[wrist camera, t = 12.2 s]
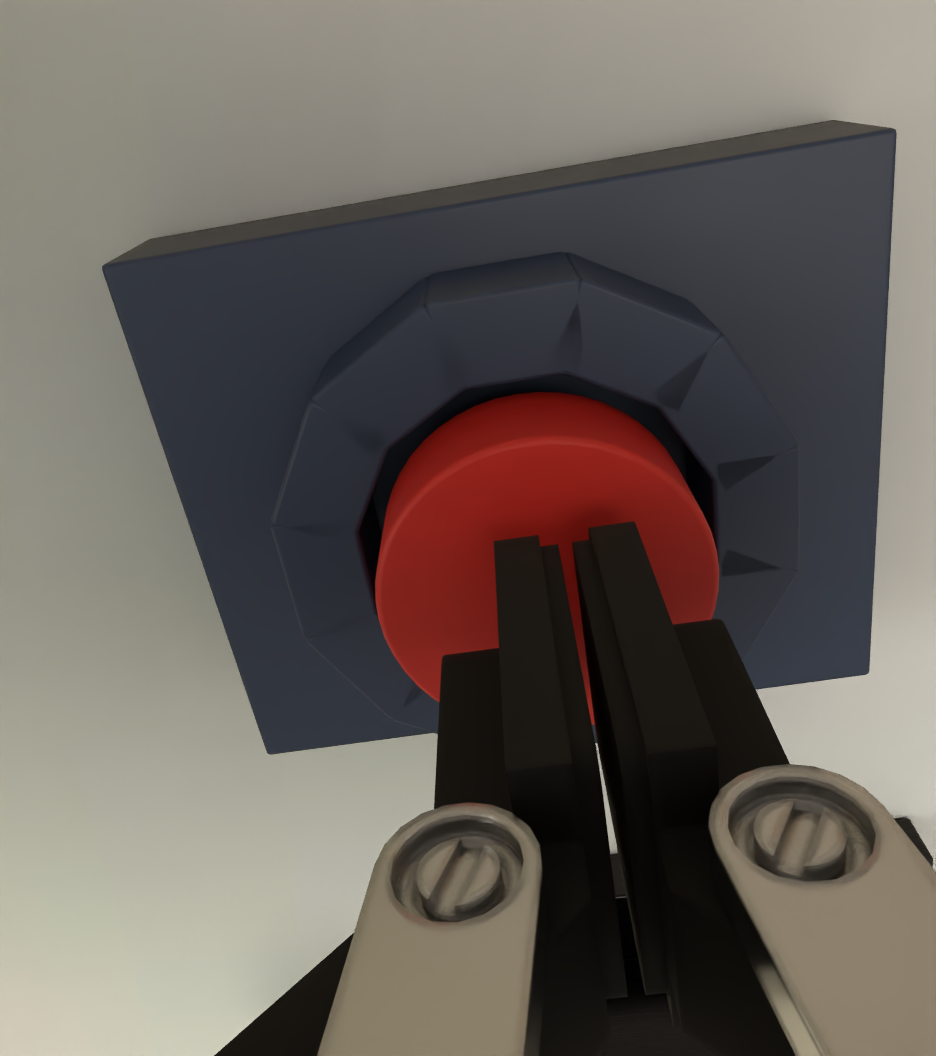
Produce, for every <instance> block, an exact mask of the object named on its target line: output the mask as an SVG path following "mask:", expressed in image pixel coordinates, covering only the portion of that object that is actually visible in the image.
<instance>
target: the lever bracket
mask: <svg viewBox="0 0 936 1056" xmlns="http://www.w3.org/2000/svg"><path fill="white" fill-rule="evenodd" d="M895 821H896V822H897V823H898V825H899V826H900V827H901V829H902V830H903V831H904V832H905V834H906V835H907V836H908V837H909V839H910V840H911V841H912V842H913V844H914V845H915V846H916V847H917V849H918V850H919V851H920V852H921V854H922V855H923V856H924V857H925V859H926V860H927V861H928V862H929V864H930V865H931V866H933V858H932V856H931V854H930V853H929V851H928V849H927V848H926V846H925V844H924V843H923V841H922V839H921V838H920V836H919V834H918V833H917V831H916V829H915V828H914V826H913V824H912V823H911V821H910V820H909V819H902V820H895ZM610 857H611V865H612V873H613V881H614V889H615V897H616V905H617V913H618V921H619V929H620V937H621V945H622V953H623V961H624V969H625V977H626V985H627V993H628V997H621V998H611V999H606V1003H607V1010H608V1017H609V1024H610V1031H611V1040H610V1041H609V1042H608V1043H607V1044H606V1046H605V1047H604V1048H603V1049H602V1051H601V1052H600V1053H599V1054H598V1056H717V1055H715V1054H714V1053H712V1052H711V1051H710V1050H708V1049H707V1048H705V1047H704V1046H702V1045H701V1044H700V1043H698V1042H697V1041H695V1040H694V1039H692V1038H691V1037H690V1036H688V1035H687V1034H685V1033H684V1032H682V1029H674V1027H673V1022H672V1018H671V1013H670V1008H669V1004H668V999H667V994H666V993H660V994H650V995H646V994H645V990H644V985H643V980H642V975H641V970H640V965H639V959H638V954H637V949H636V943H635V938H634V933H633V928H632V922H631V917H630V912H629V907H628V901H627V896H626V891H625V886H624V880H623V875H622V870H621V864H620V859H619V855H611V856H610Z"/></svg>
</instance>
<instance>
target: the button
mask: <svg viewBox="0 0 936 1056" xmlns="http://www.w3.org/2000/svg"><path fill="white" fill-rule="evenodd" d="M631 521H634V522H635V524H636V526H637V529H638V531H639V534H640V537H641V540H642V542H643V545H644V548H645V550H646V553H647V556H648V559H649V561H650V564H651V567H652V569H653V572H654V575H655V578H656V580H657V583H658V586H659V589H660V591H661V594H662V597H663V599H664V602H665V605H666V608H667V610H668V613H669V616H670V618H671V621H672V624H681V623H688V622H696V621H703V620H711V619H712V616H713V613H714V610H715V606H716V601H717V595H718V590H719V564H718V556H717V550H716V546H715V542H714V539H713V535H712V532H711V530H710V527H709V525H708V523H707V521H706V519H705V517H704V514H703V512H702V511H701V509H700V507H699V505H698V503H697V502H696V500H695V498H694V496H693V494H692V492H691V491H690V489H689V487H688V485H687V483H686V482H685V480H684V478H683V476H682V474H681V472H680V471H679V469H678V467H677V465H676V463H675V462H674V460H673V459H672V457H671V456H670V454H669V453H668V451H667V450H666V448H665V447H664V446H663V445H662V444H661V443H660V441H659V440H658V439H657V438H656V437H655V436H654V435H653V434H652V433H651V432H650V431H649V430H648V429H646V428H645V427H644V426H643V425H642V424H640V423H639V422H638V421H637V420H635V419H633V418H632V417H630V416H629V415H627V414H625V413H624V412H622V411H620V410H618V409H616V408H614V407H612V406H609V405H607V404H605V403H603V402H600V401H597V400H593V399H590V398H587V397H583V396H579V395H572V394H566V393H560V392H531V393H520V394H514V395H509V396H505V397H500V398H496V399H493V400H490V401H487V402H484V403H482V404H479V405H476V406H474V407H472V408H470V409H468V410H466V411H464V412H462V413H460V414H458V415H456V416H455V417H453V418H452V419H450V420H449V421H447V422H446V423H444V424H443V425H441V426H440V427H438V428H437V429H436V430H435V431H434V432H433V433H432V434H431V435H430V436H428V437H427V438H426V439H425V440H424V441H423V442H422V443H421V444H420V446H419V447H418V448H417V449H416V450H415V451H414V453H413V454H412V455H411V456H410V458H409V459H408V461H407V462H406V464H405V465H404V467H403V468H402V470H401V472H400V473H399V476H398V478H397V480H396V482H395V484H394V487H393V489H392V491H391V495H390V498H389V502H388V505H387V509H386V515H385V521H384V528H383V534H382V540H381V546H380V552H379V558H378V565H377V572H376V579H375V601H376V607H377V613H378V619H379V622H380V625H381V628H382V631H383V634H384V637H385V639H386V641H387V643H388V645H389V647H390V649H391V651H392V653H393V655H394V656H395V658H396V659H397V661H398V662H399V664H400V665H401V667H402V668H403V669H404V671H405V672H406V673H407V674H408V676H409V677H410V678H411V679H412V680H413V681H414V682H415V683H416V684H417V685H418V686H419V687H420V688H421V689H422V690H423V691H425V692H426V693H427V694H428V695H429V696H431V697H432V698H433V699H435V700H436V701H438V702H439V701H440V681H441V664H442V657H443V656H444V655H449V654H456V653H464V652H471V651H479V650H486V649H494V648H499V638H498V618H497V597H496V577H495V557H494V541H498V540H505V539H512V538H519V537H526V536H533V535H539V542H540V546H547V545H554V544H558V546H559V552H560V557H561V562H562V568H563V573H564V579H565V584H566V589H567V595H568V600H569V605H570V611H571V616H572V621H573V627H574V632H575V638H576V643H577V648H578V654H579V659H580V664H581V670H582V675H583V680H584V686H585V691H586V697H587V702H588V707H589V713H590V718H591V723H592V725H593V724H595V723H594V715H593V707H592V699H591V691H590V683H589V675H588V667H587V659H586V651H585V643H584V635H583V627H582V619H581V611H580V603H579V595H578V587H577V579H576V571H575V563H574V554H573V545H572V542H575V541H582V540H589V535H588V528H589V527H596V526H603V525H610V524H617V523H624V522H631Z"/></svg>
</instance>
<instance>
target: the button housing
mask: <svg viewBox="0 0 936 1056" xmlns="http://www.w3.org/2000/svg"><path fill="white" fill-rule="evenodd" d="M895 153H896V130H895V129H893V128H887V127H880V126H873V125H865V124H858V123H851V122H843V121H836V120H832V121H826V122H820V123H814V124H809V125H803V126H797V127H791V128H786V129H780V130H774V131H768V132H763V133H757V134H751V135H745V136H740V137H734V138H728V139H722V140H717V141H711V142H705V143H699V144H694V145H688V146H682V147H676V148H671V149H665V150H659V151H654V152H648V153H642V154H636V155H631V156H625V157H619V158H613V159H608V160H602V161H596V162H590V163H585V164H579V165H573V166H567V167H562V168H556V169H550V170H544V171H539V172H533V173H527V174H521V175H516V176H510V177H504V178H498V179H493V180H487V181H481V182H475V183H470V184H464V185H458V186H453V187H447V188H441V189H435V190H430V191H424V192H418V193H412V194H407V195H401V196H395V197H389V198H384V199H378V200H372V201H366V202H361V203H355V204H349V205H343V206H338V207H332V208H326V209H320V210H315V211H309V212H303V213H297V214H292V215H286V216H280V217H274V218H269V219H263V220H257V221H252V222H246V223H240V224H234V225H229V226H223V227H217V228H211V229H206V230H200V231H194V232H188V233H183V234H177V235H171V236H165V237H160V238H154V239H150V240H148V241H146V242H144V243H142V244H140V245H139V246H137V247H135V248H133V249H131V250H130V251H128V252H126V253H124V254H122V255H121V256H119V257H117V258H115V259H113V260H112V261H110V262H108V263H106V264H105V265H103V266H102V271H103V274H104V277H105V279H106V282H107V285H108V288H109V291H110V294H111V297H112V300H113V303H114V306H115V309H116V312H117V315H118V318H119V320H120V323H121V326H122V329H123V332H124V335H125V338H126V341H127V344H128V347H129V350H130V353H131V356H132V359H133V361H134V364H135V367H136V370H137V373H138V376H139V379H140V382H141V385H142V388H143V391H144V394H145V397H146V400H147V402H148V405H149V408H150V411H151V414H152V417H153V420H154V423H155V426H156V429H157V432H158V435H159V438H160V441H161V443H162V446H163V449H164V452H165V455H166V458H167V461H168V464H169V467H170V470H171V473H172V476H173V479H174V482H175V484H176V487H177V490H178V493H179V496H180V499H181V502H182V505H183V508H184V511H185V514H186V517H187V520H188V523H189V526H190V528H191V531H192V534H193V537H194V540H195V543H196V546H197V549H198V552H199V555H200V558H201V561H202V564H203V567H204V569H205V572H206V575H207V578H208V581H209V584H210V587H211V590H212V593H213V596H214V599H215V602H216V605H217V608H218V610H219V613H220V616H221V619H222V622H223V625H224V628H225V631H226V634H227V637H228V640H229V643H230V646H231V649H232V651H233V654H234V657H235V660H236V663H237V666H238V669H239V672H240V675H241V678H242V681H243V684H244V687H245V690H246V692H247V695H248V698H249V701H250V704H251V707H252V710H253V713H254V716H255V719H256V722H257V725H258V728H259V731H260V733H261V736H262V739H263V742H264V745H265V748H266V751H267V753H268V754H270V755H271V754H278V753H286V752H293V751H301V750H308V749H316V748H323V747H331V746H338V745H345V744H353V743H360V742H368V741H375V740H383V739H390V738H398V737H405V736H412V735H420V734H427V733H436V734H438V722H439V702H438V701H436V700H435V699H433V698H432V697H431V696H429V695H428V694H427V693H426V692H425V691H423V690H422V689H421V688H420V687H419V686H418V685H417V684H416V683H415V682H414V681H413V680H412V679H411V678H410V677H409V676H408V674H407V673H406V672H405V671H404V669H403V668H402V667H401V665H400V664H399V662H398V661H397V659H396V658H395V656H394V655H393V653H392V651H391V649H390V647H389V645H388V643H387V641H386V639H385V637H384V634H383V631H382V628H381V625H380V622H379V619H378V613H377V607H376V601H375V579H376V572H377V565H378V558H379V552H380V546H381V540H382V534H383V528H384V521H385V515H386V509H387V505H388V502H389V498H390V495H391V491H392V489H393V487H394V484H395V482H396V480H397V478H398V476H399V473H400V472H401V470H402V468H403V467H404V465H405V464H406V462H407V461H408V459H409V458H410V456H411V455H412V454H413V453H414V451H415V450H416V449H417V448H418V447H419V446H420V444H421V443H422V442H423V441H424V440H425V439H426V438H427V437H428V436H430V435H431V434H432V433H433V432H434V431H435V430H436V429H437V428H438V427H440V426H441V425H443V424H444V423H446V422H447V421H449V420H450V419H452V418H453V417H455V416H456V415H458V414H460V413H462V412H464V411H466V410H468V409H470V408H472V407H474V406H476V405H479V404H482V403H484V402H487V401H490V400H493V399H496V398H500V397H505V396H509V395H514V394H520V393H531V392H560V393H566V394H572V395H579V396H583V397H587V398H590V399H593V400H597V401H600V402H603V403H605V404H607V405H609V406H612V407H614V408H616V409H618V410H620V411H622V412H624V413H625V414H627V415H629V416H630V417H632V418H633V419H635V420H637V421H638V422H639V423H640V424H642V425H643V426H644V427H645V428H646V429H648V430H649V431H650V432H651V433H652V434H653V435H654V436H655V437H656V438H657V439H658V440H659V441H660V443H661V444H662V445H663V446H664V447H665V448H666V450H667V451H668V453H669V454H670V456H671V457H672V459H673V460H674V462H675V463H676V465H677V467H678V469H679V471H680V472H681V474H682V476H683V478H684V480H685V482H686V483H687V485H688V487H689V489H690V491H691V492H692V494H693V496H694V498H695V500H696V502H697V503H698V505H699V507H700V509H701V511H702V512H703V514H704V517H705V519H706V521H707V523H708V525H709V527H710V530H711V532H712V535H713V539H714V542H715V546H716V550H717V556H718V564H719V590H718V595H717V601H716V606H715V610H714V613H713V616H712V619H718V618H719V619H721V620H722V621H723V622H724V624H725V626H726V627H727V630H728V632H729V634H730V636H731V638H732V640H733V643H734V645H735V647H736V649H737V651H738V653H739V655H740V658H741V660H742V662H743V664H744V666H745V668H746V671H747V673H748V675H749V677H750V679H751V681H752V684H753V686H754V688H755V689H762V688H770V687H777V686H785V685H792V684H800V683H807V682H814V681H822V680H829V679H837V678H844V677H852V676H859V675H866V674H868V673H869V664H870V644H871V625H872V605H873V585H874V566H875V546H876V526H877V507H878V487H879V468H880V448H881V428H882V409H883V389H884V369H885V350H886V330H887V310H888V291H889V271H890V251H891V232H892V212H893V192H894V173H895ZM592 729H593V734H594V740H595V743H597V736H596V730H595V724H593V725H592Z"/></svg>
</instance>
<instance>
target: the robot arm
mask: <svg viewBox="0 0 936 1056" xmlns="http://www.w3.org/2000/svg"><path fill="white" fill-rule="evenodd" d="M588 535H589V540H582V541H575V542H572V545H573V554H574V563H575V571H576V579H577V587H578V595H579V603H580V611H581V619H582V627H583V635H584V643H585V651H586V659H587V667H588V675H589V683H590V691H591V699H592V707H593V715H594V723H595V730H596V736H597V743H598V748H599V754H600V759H601V764H602V770H603V775H604V780H605V785H606V791H607V796H608V801H609V806H610V812H611V817H612V822H613V828H614V833H615V838H616V843H617V849H618V854H619V859H620V864H621V870H622V875H623V880H624V886H625V891H626V896H627V901H628V907H629V912H630V917H631V922H632V928H633V933H634V938H635V943H636V949H637V954H638V959H639V965H640V970H641V975H642V980H643V985H644V990H645V994H646V995H650V994H660V993H666V994H667V999H668V1004H669V1008H670V1013H671V1018H672V1022H673V1027H674V1029H682V1032H684V1033H685V1034H687V1035H688V1036H690V1037H691V1038H692V1039H694V1040H695V1041H697V1042H698V1043H700V1044H701V1045H702V1046H704V1047H705V1048H707V1049H708V1050H710V1051H711V1052H712V1053H714V1054H715V1055H717V1056H936V871H935V870H934V869H933V867H932V866H931V865H930V864H929V862H928V861H927V860H926V859H925V857H924V856H923V855H922V854H921V852H920V851H919V850H918V849H917V847H916V846H915V845H914V844H913V842H912V841H911V840H910V839H909V837H908V836H907V835H906V834H905V832H904V831H903V830H902V829H901V827H900V826H899V825H898V823H897V822H896V821H895V820H894V818H893V817H892V816H891V815H890V813H889V812H888V811H887V810H886V808H885V807H884V806H883V805H882V804H881V803H880V802H879V801H878V800H877V799H876V798H875V797H874V796H873V795H871V794H870V793H869V792H868V791H867V790H866V789H865V788H864V787H862V786H860V785H858V784H856V783H855V782H853V781H851V780H849V779H847V778H846V777H844V776H842V775H840V774H837V773H833V772H830V771H827V770H824V769H820V768H817V767H813V766H802V765H792V764H789V761H788V759H787V757H786V755H785V753H784V751H783V748H782V746H781V744H780V742H779V740H778V738H777V735H776V733H775V731H774V729H773V727H772V725H771V722H770V720H769V718H768V716H767V714H766V712H765V710H764V707H763V705H762V703H761V701H760V699H759V697H758V694H757V692H756V690H755V688H754V686H753V684H752V681H751V679H750V677H749V675H748V673H747V671H746V668H745V666H744V664H743V662H742V660H741V658H740V655H739V653H738V651H737V649H736V647H735V645H734V643H733V640H732V638H731V636H730V634H729V632H728V630H727V627H726V626H725V624H724V622H723V621H722V620H721V619H719V618H718V619H711V620H703V621H696V622H688V623H681V624H672V621H671V618H670V616H669V613H668V610H667V608H666V605H665V602H664V599H663V597H662V594H661V591H660V589H659V586H658V583H657V580H656V578H655V575H654V572H653V569H652V567H651V564H650V561H649V559H648V556H647V553H646V550H645V548H644V545H643V542H642V540H641V537H640V534H639V531H638V529H637V526H636V524H635V522H634V521H631V522H624V523H617V524H610V525H603V526H596V527H589V528H588ZM494 557H495V577H496V597H497V618H498V638H499V648H494V649H486V650H479V651H471V652H464V653H456V654H449V655H444V656H443V657H442V664H441V681H440V701H439V722H438V742H437V762H436V783H435V803H434V809H433V810H431V811H428V812H425V813H422V814H420V815H419V816H417V817H416V818H414V819H413V820H411V821H410V822H408V823H407V824H405V825H403V826H402V827H401V828H400V829H399V830H398V831H397V832H396V833H395V834H394V835H393V836H392V837H391V838H390V839H389V840H388V842H387V843H386V844H385V845H384V847H383V849H382V851H381V853H380V855H379V857H378V859H377V861H376V863H375V865H374V869H373V872H372V875H371V879H370V882H369V885H368V889H367V892H366V895H365V899H364V902H363V905H362V909H361V912H360V915H359V918H358V922H357V925H356V928H355V932H354V933H353V934H352V935H351V936H350V937H349V938H347V939H346V940H345V941H344V942H343V943H342V944H341V945H339V946H338V947H337V948H336V949H335V950H334V951H333V952H332V953H330V954H329V955H328V956H327V957H326V958H325V959H324V960H322V961H321V962H320V963H319V964H318V965H317V966H316V967H314V968H313V969H312V970H311V971H310V972H309V973H308V974H307V975H305V976H304V977H303V978H302V979H301V980H300V981H299V982H297V983H296V984H295V985H294V986H293V987H292V988H291V989H289V990H288V991H287V992H286V993H285V994H284V995H283V996H282V997H280V998H279V999H278V1000H277V1001H276V1002H275V1003H274V1004H272V1005H271V1006H270V1007H269V1008H268V1009H267V1010H266V1011H264V1012H263V1013H262V1014H261V1015H260V1016H259V1017H258V1018H257V1019H255V1020H254V1021H253V1022H252V1023H251V1024H250V1025H249V1026H247V1027H246V1028H245V1029H244V1030H243V1031H242V1032H241V1033H239V1034H238V1035H237V1036H236V1037H235V1038H234V1039H233V1040H232V1041H230V1042H229V1043H228V1044H227V1045H226V1046H225V1047H224V1048H222V1049H221V1050H220V1051H219V1052H218V1053H217V1054H216V1055H214V1056H598V1054H599V1053H600V1052H601V1051H602V1049H603V1048H604V1047H605V1046H606V1044H607V1043H608V1042H609V1041H610V1040H611V1031H610V1024H609V1017H608V1010H607V1003H606V999H611V998H621V997H628V993H627V985H626V977H625V969H624V961H623V953H622V945H621V937H620V929H619V921H618V913H617V905H616V897H615V889H614V881H613V873H612V865H611V857H610V849H609V841H608V833H607V825H606V817H605V809H604V801H603V793H602V785H601V778H600V771H599V764H598V758H597V751H596V745H595V740H594V734H593V729H592V723H591V718H590V713H589V707H588V702H587V697H586V691H585V686H584V680H583V675H582V670H581V664H580V659H579V654H578V648H577V643H576V638H575V632H574V627H573V621H572V616H571V611H570V605H569V600H568V595H567V589H566V584H565V579H564V573H563V568H562V562H561V557H560V552H559V546H558V544H554V545H547V546H540V542H539V535H533V536H526V537H519V538H512V539H505V540H498V541H494Z"/></svg>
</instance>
